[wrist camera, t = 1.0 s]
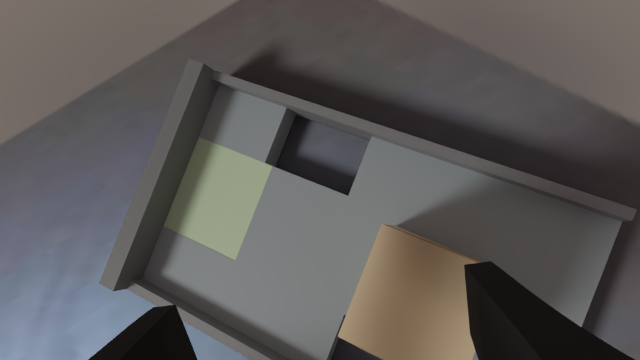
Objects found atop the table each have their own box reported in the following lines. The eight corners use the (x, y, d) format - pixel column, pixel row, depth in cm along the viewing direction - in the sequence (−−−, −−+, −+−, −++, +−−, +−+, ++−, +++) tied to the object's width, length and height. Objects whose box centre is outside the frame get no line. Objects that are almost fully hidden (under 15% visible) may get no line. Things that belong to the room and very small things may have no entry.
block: (489, 263, 19) (505, 273, 14) (453, 355, 19) (457, 397, 14) (395, 225, 20) (381, 223, 15) (362, 311, 20) (337, 336, 15)
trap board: (612, 212, 19) (649, 208, 16) (510, 477, 19) (524, 530, 16) (221, 80, 26) (188, 58, 22) (143, 276, 26) (99, 283, 22)
